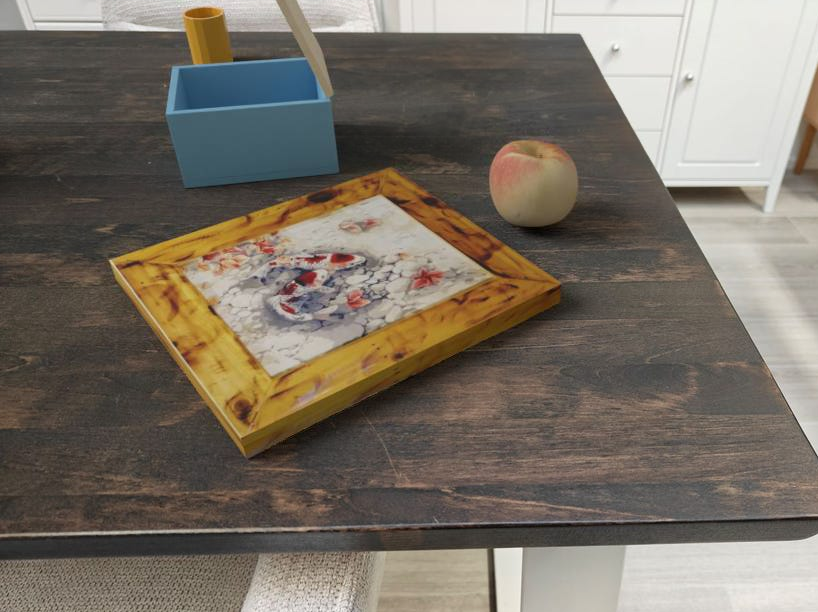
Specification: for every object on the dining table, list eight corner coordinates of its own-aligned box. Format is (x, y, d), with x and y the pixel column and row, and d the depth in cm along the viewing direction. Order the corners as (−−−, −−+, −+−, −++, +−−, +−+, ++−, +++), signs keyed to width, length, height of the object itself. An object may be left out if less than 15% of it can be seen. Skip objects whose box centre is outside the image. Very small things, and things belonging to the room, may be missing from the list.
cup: (185, 66, 107) (173, 15, 102) (210, 54, 111) (199, 4, 106) (217, 73, 105) (206, 21, 101) (241, 60, 109) (232, 9, 105)
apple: (476, 207, 79) (477, 136, 73) (552, 193, 81) (558, 123, 76) (509, 250, 73) (513, 175, 67) (589, 233, 75) (599, 160, 70)
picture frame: (561, 283, 65) (240, 438, 51) (559, 303, 66) (246, 458, 52) (391, 167, 81) (108, 260, 66) (392, 185, 82) (116, 279, 68)
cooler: (185, 188, 80) (165, 114, 75) (189, 134, 90) (172, 66, 85) (339, 173, 84) (331, 101, 78) (327, 123, 94) (319, 56, 88)
